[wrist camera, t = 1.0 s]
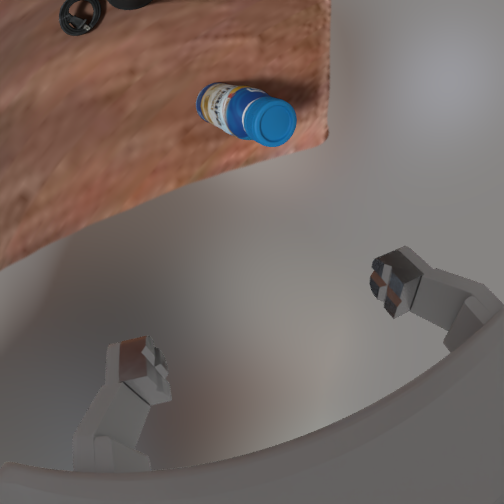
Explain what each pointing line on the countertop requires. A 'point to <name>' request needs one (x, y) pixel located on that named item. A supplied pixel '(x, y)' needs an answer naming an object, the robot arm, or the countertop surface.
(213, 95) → the beverage bottle
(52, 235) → the countertop surface
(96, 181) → the countertop surface
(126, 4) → the milk frother
